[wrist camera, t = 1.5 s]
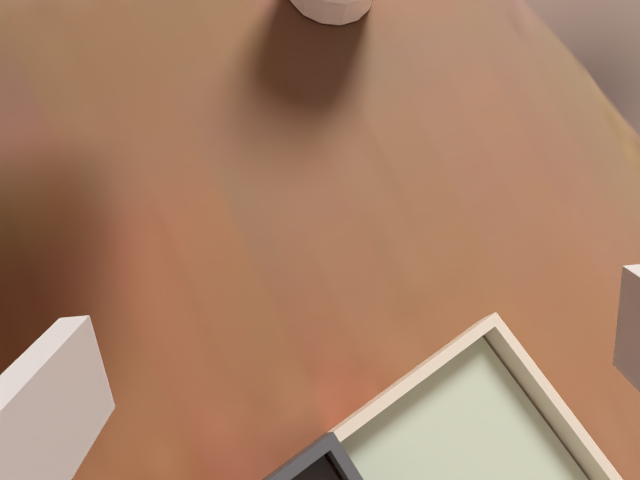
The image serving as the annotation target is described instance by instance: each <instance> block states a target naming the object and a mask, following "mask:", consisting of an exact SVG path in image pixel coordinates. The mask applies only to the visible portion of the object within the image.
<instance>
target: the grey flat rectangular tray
mask: <svg viewBox="0 0 640 480" xmlns="http://www.w3.org/2000/svg"><path fill="white" fill-rule="evenodd" d="M481 336H482V337H481ZM326 453H327V455H328V456H329V458H330V459H331V461H332V463H333V464H334V466H335V467H336V469H337V471H338V472H339V474H340V476H341V477H342V479H343V480H623V479H622V478H621V476H620V475H619V474H618V473H617V471H616V470H615V469H614V467H613V466H612V465H611V463H610V462H609V461H608V459H607V458H606V457H605V455H604V454H603V453H602V451H601V450H600V449H599V447H598V446H597V445H596V443H595V442H594V441H593V439H592V438H591V437H590V436H589V434H588V433H587V432H586V430H585V429H584V428H583V426H582V425H581V424H580V422H579V421H578V420H577V418H576V417H575V416H574V414H573V413H572V412H571V410H570V409H569V408H568V406H567V405H566V404H565V402H564V401H563V400H562V399H561V397H560V396H559V395H558V393H557V392H556V391H555V389H554V388H553V387H552V385H551V384H550V383H549V381H548V380H547V379H546V377H545V376H544V375H543V373H542V372H541V371H540V369H539V368H538V367H537V365H536V364H535V363H534V361H533V360H532V359H531V358H530V356H529V355H528V354H527V352H526V351H525V350H524V348H523V347H522V346H521V344H520V343H519V342H518V340H517V339H516V338H515V336H514V335H513V334H512V332H511V331H510V330H509V328H508V327H507V326H506V324H505V323H504V322H503V321H502V319H501V318H500V317H499V315H498V314H497V313H496V312H495V313H493V314H491V315H489V316H487V317H485V318H483V319H481V320H479V321H478V322H476V323H475V324H474V325H472V326H471V327H470V328H468V329H467V330H466V331H464V332H463V333H461V334H460V335H459V336H457V337H456V338H455V339H453V340H452V341H451V342H449V343H448V344H446V345H445V346H444V347H442V348H441V349H440V350H438V351H437V352H436V353H434V354H433V355H431V356H430V357H429V358H427V359H426V360H425V361H423V362H422V363H421V364H419V365H418V366H417V367H415V368H414V369H412V370H411V371H410V372H408V373H407V374H406V375H404V376H403V377H402V378H400V379H399V380H397V381H396V382H395V383H393V384H392V385H391V386H389V387H388V388H387V389H385V390H384V391H382V392H381V393H380V394H378V395H377V396H376V397H374V398H373V399H372V400H370V401H369V402H367V403H366V404H365V405H363V406H362V407H361V408H359V409H358V410H357V411H355V412H354V413H353V414H351V415H350V416H348V417H347V418H346V419H344V420H343V421H342V422H340V423H339V424H338V425H336V426H335V427H333V428H332V429H331V430H329V431H328V432H327V433H325V434H324V435H323V436H321V437H320V438H318V439H317V440H316V441H314V442H313V443H312V444H310V445H309V446H308V447H306V448H305V449H303V450H302V451H301V452H299V453H298V454H297V455H295V456H294V457H293V458H291V459H290V460H289V461H287V462H286V463H284V464H283V465H282V466H280V467H279V468H278V469H276V470H275V471H274V472H272V473H271V474H269V475H268V476H267V477H265V478H264V479H263V480H339V478H338V477H337V475H336V474H335V472H334V470H333V469H332V467H331V465H330V464H329V462H328V461H327V459H326V457H325V456H324V454H326Z"/></svg>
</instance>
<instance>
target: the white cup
mask: <svg viewBox="0 0 640 480" xmlns="http://www.w3.org/2000/svg"><path fill="white" fill-rule="evenodd" d="M290 2H291V3H292V4H293V5H294V6H295V7H296V8H297V9H298V10H299V11H300V12H301V13H302V14H303V15H304V16H306V17H308V18H310V19H313V20H315V21H317V22H319V23H321V24H331V25H344V24H348V23H351V22H354V21H358V20H359V19H360V18H361V17H362V16H363V15H364V14H365V13H366V12H367V11H368V10H369V9H370V7H371V4H372V2H373V0H290Z"/></svg>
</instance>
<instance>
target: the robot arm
mask: <svg viewBox="0 0 640 480" xmlns="http://www.w3.org/2000/svg"><path fill="white" fill-rule="evenodd" d="M613 365H614V366H615V367H616V368H617V369H618V370H619V371H620V372H621V373H622V374H623V375H624V376H625V377H626V378H627V379H628V380H629V381H630V383H631V384H632V385H633V386H634V387H635V388H636V389H637V390H638V391H639V392H640V264H638V265H627V266H623V268H622V278H621V288H620V298H619V308H618V318H617V328H616V338H615V348H614V358H613ZM114 408H115V404H114V401H113V397H112V394H111V390H110V386H109V383H108V379H107V376H106V372H105V369H104V365H103V361H102V358H101V354H100V351H99V347H98V344H97V340H96V337H95V333H94V329H93V326H92V322H91V319H90V315H86V316H75V317H64V318H59V319H58V320H57V321H56V322H55V323H54V324H53V325H52V326H51V327H50V328H49V329H48V330H47V331H46V332H44V333H43V334H42V335H41V336H40V337H39V338H38V339H37V340H36V341H35V342H34V343H33V344H32V345H31V346H30V347H29V348H28V349H27V350H26V351H25V352H24V353H23V354H22V355H21V356H20V357H19V358H18V359H16V360H15V361H14V362H13V363H12V364H11V365H10V366H9V367H8V368H7V369H6V370H5V371H4V372H3V373H2V374H1V375H0V480H71V479H72V478H73V476H74V474H75V473H76V471H77V470H78V468H79V466H80V465H81V463H82V461H83V460H84V458H85V456H86V455H87V453H88V451H89V450H90V448H91V446H92V445H93V443H94V441H95V440H96V438H97V436H98V435H99V433H100V431H101V430H102V428H103V426H104V425H105V423H106V421H107V420H108V418H109V417H110V415H111V413H112V412H113V410H114Z"/></svg>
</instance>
